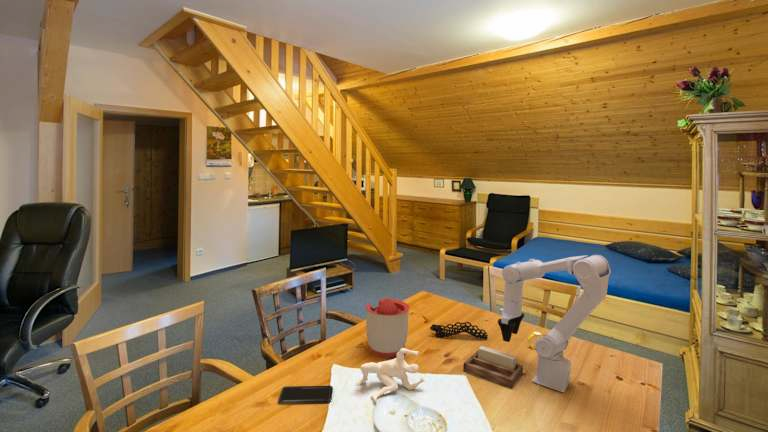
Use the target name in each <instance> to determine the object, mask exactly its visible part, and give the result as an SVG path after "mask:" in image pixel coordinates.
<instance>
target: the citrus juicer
mask: <svg viewBox="0 0 768 432" xmlns="http://www.w3.org/2000/svg"><path fill="white" fill-rule="evenodd" d="M365 309H366V313H365V314H366V317H365V319H366V322H365V324H366V325H365V326H366V327H365V330H366V332H365V333H366V338H367V343H368V348H369V349H370V352H371V353H372V354H373V355H374V356H376V357H379V358H380V357H381V358H384V359H389V358H394V357H395V358H396V357H397V355H396V354H397V352H399V351H400V349H401V348H405V347H406V344H407V339H408V332H409V310H410V306H409V304H408V303H407V302H405V301H403V300H401V299H400V300H399V299H394V298H393V299H392V298H390V297H386V298H379V299H378V306H376V307H373V305H372V304H371V303H369V302H368V303H366V305H365Z"/></svg>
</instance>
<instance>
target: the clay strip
mask: <svg viewBox="0 0 768 432" xmlns="http://www.w3.org/2000/svg"><path fill="white" fill-rule="evenodd" d="M477 349H478V350H477V351H478V359H481V360H484V361H487V362H490V363H493V364H496V365H499V366H502V367H505V368H508V369H511V370H514V371H515V367H516V363H517V356H515V355H514V354H513V355H512V354H510V353H505V352H502V351H499V350H496V349H493V348H489V347H486V346H483V345H481V346H479V348H477Z"/></svg>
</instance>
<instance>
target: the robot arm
mask: <svg viewBox="0 0 768 432" xmlns="http://www.w3.org/2000/svg"><path fill="white" fill-rule="evenodd" d="M611 270H612V269H611V267H610V265H609V261H608V260H607V259H606V258H605V257H604V256H603V255H600V254H592V255H590V256H589V255H577V256H569V257H564V258H560V259H555V260H551V261H546V262H543V261H542V260H541V259H540V260H539V259H535V258H530V259H528V260H527V261H524V262H521V261H517V262H516V263H512V264H509V265H506V266H504V268H503V269H502V271H501V275H502V278H503V279H504V293H503V306H502V308H500V309H499V312H501V313H502V316H501V318H498V319H497V325H498V326H499V328H500V329H499V330H500V331H501V336H502V340H503V341H504V342H507V343H510V342H511V340H512V335H513V334H514V335H517V334H518V332H519V330H520V325H521V324H522V321H523V319H524V317H525V313H523V312H522V303H523V302H522V298H523V287H524V286H523V284H524V281H527V280H534V279H535V280H536V279H540V278H543V277H544V276H545V274H546V273H555V272H562V271H567V273H568V274H569V275H574V277H575V278H576V281H578V283H579V285H580V286H581V288H582V290H583V293H581V295H580V296H579V298H578V299H576V301H575V302H574V303H573V304H572V306H571V307H570V308H569V309H568V310H567V311H566V313H565V314H564V315H563V316H562V317H561V319H560V320H559V321H558V322H557V323H556V325H555V326H553V328H551V330H549V331H548V332H547V333H546V334H545V335H544V336H543V337H541V336H540V337H538V338H537V339H536V340H535V342H534V346H535V351H536V353H537V356H538V357H537V365H536V366H537V367H536V375H534V377H533V378H532V383H534V384H538V385H541V386H544V387H547V388H549V389H552V390H553V391H556V392H561V393H565V392H566V390H567V389H568V386H569V384H570V382H571V381H570V379H571V378H570V377H571V369H572V361H571V360H570V359H568V358H566V357H565V356H564V350H566V349H567V348H568V346H569V341H570V340H571V338H572V335H573V334H574V333H575V332H576V331H577V330H578V328H580V326H581V325H582V324H583V323H584V321H586V320H587V318H589V316H590V315H591V314H592V313H593V311H595V309H596V308H598V306H599V305H600V304H601V303H602V302H603V301H604V299H605V298H607V295H608V285H609V278H610V276H611V273H612V271H611Z"/></svg>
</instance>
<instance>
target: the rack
mask: <svg viewBox="0 0 768 432" xmlns="http://www.w3.org/2000/svg"><path fill="white" fill-rule="evenodd" d="M462 367H463V370H462V371H463V372H464V373H468V374H470V375H473V376H475V377H478V378H481V379H483V380H487V381H489V382H492V383H493V384H498V385H501V386H502V387H506V388H509V389H512V388H513V387H514V386H515V384H516V383H517V382H518V380H519V379H520V378H521V376H522V375H523V373H524V365H523V364H519V363H517V362H516V367H515V371H514V370H511V369H508V368H505V367H502V366H499V365H496V364H493V363H490V362H487V361H484V360H481V359H478V350H476V352H475V353H473V354H472V355H471V356H470V357H469V358H467V359H466V360H465V361H464V362H463V366H462Z"/></svg>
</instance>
